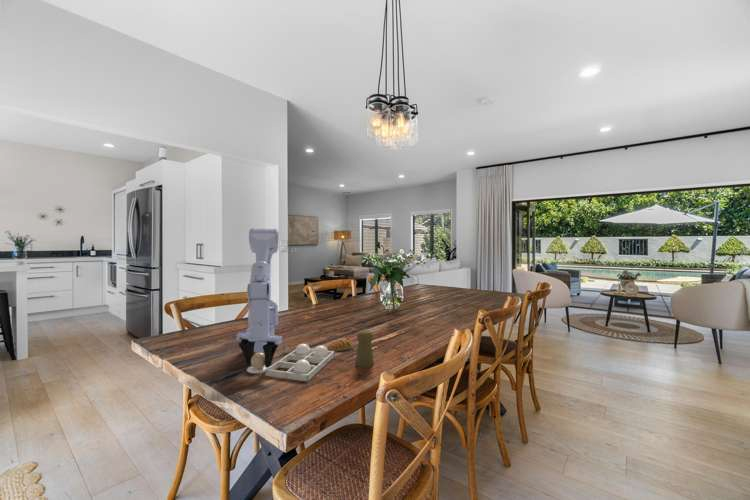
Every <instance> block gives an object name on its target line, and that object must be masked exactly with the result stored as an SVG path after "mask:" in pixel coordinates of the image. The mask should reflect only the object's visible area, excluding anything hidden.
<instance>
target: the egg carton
mask: <svg viewBox="0 0 750 500" xmlns="http://www.w3.org/2000/svg"><path fill="white" fill-rule="evenodd" d="M314 349H315V348H310V354H309V355H308V356H303V355H296V349H294V350H293V351H291V352H290V353H288V354H287V355H285V356H283V357H282V358H281V359H279V360H278V361H276V362H274V363H273V364H271V366H270V367H268V368H267V369H265V372H264V376H265V377H272V378H280V379H287V380H293V381H294V380H295V381H299V382H300V381H301V382H309V381H310V380H311V379H312V378H313V377H314V376H316V375H317V373H319V372H320V371H321V370H322V369H323V368H324V367H326V365H327V364H328V363H330V362H331V361H332V360H333V359H334V358H335V353H336V352H335V351H328V356H327V357H326V358H320V357H314V355H313V352H314ZM302 359H304V360H307V361H308V362H309V363H313V364H317V365H313V364H310V366H311V369H310V372H309V373H308V374H300V373H295V372H294V365H295V363H296V362H297V361H299V360H302ZM289 361H296V362H289ZM279 368H280V369H281V368H282V369H287V370H286V371H282V370H277V369H279Z"/></svg>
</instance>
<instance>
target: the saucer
mask: <svg viewBox="0 0 750 500" xmlns="http://www.w3.org/2000/svg"><path fill="white" fill-rule="evenodd" d="M269 367H270V366H269ZM265 369H267V367H265V366H264V367H263V368H261V369H255V368H254V367H252V365H251V366H250V365H249V366H248V367H247V369H246V372H248V373H251V374H261V373H265Z"/></svg>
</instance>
